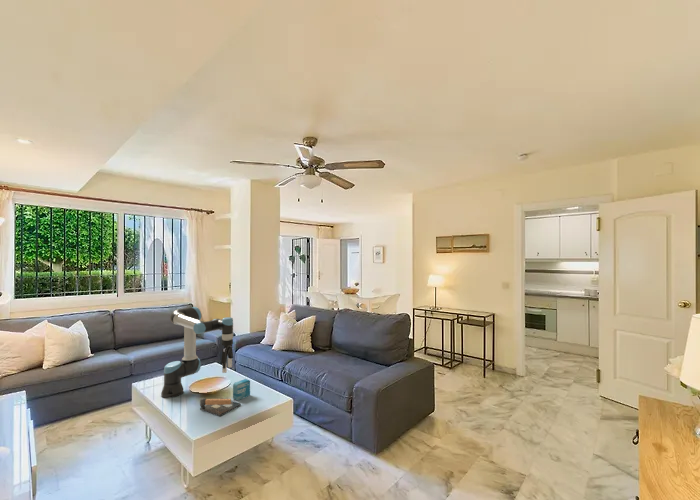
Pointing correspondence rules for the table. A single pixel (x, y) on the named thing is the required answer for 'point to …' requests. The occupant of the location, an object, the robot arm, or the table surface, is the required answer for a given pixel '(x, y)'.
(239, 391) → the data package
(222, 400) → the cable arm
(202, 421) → the table surface
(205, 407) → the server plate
